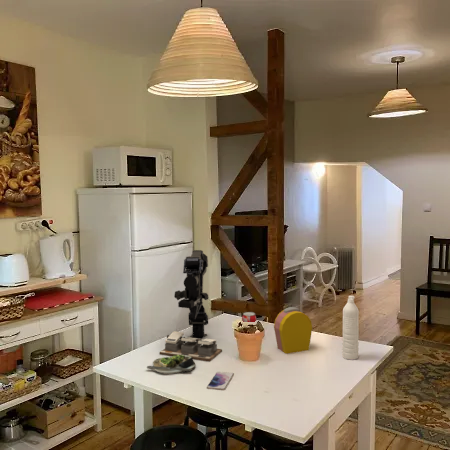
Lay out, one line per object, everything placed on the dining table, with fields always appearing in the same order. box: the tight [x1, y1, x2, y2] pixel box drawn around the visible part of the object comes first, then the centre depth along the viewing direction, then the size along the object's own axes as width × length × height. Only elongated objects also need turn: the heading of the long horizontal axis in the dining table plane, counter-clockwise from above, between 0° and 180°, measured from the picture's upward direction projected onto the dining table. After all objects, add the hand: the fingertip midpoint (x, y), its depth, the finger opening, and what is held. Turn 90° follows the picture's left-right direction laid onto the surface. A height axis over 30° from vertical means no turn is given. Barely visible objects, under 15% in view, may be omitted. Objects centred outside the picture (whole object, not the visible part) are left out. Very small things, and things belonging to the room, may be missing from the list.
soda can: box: [241, 311, 258, 322], centre depth 222 cm, size 7×7×12 cm
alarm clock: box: [273, 306, 313, 355], centre depth 206 cm, size 15×8×18 cm, turn 111°
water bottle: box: [341, 295, 360, 361], centre depth 196 cm, size 9×6×25 cm
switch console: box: [158, 334, 223, 362], centre depth 203 cm, size 13×24×7 cm, turn 67°
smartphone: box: [206, 371, 235, 391], centre depth 174 cm, size 7×1×15 cm
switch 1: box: [164, 330, 185, 344], centre depth 206 cm, size 8×5×1 cm, turn 157°
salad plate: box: [146, 355, 197, 375], centre depth 188 cm, size 19×18×5 cm
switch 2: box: [198, 338, 217, 345], centre depth 200 cm, size 8×5×1 cm, turn 157°
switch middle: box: [181, 336, 200, 342], centre depth 203 cm, size 8×5×1 cm, turn 157°
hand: (194, 318), depth 210 cm, fingers closed
